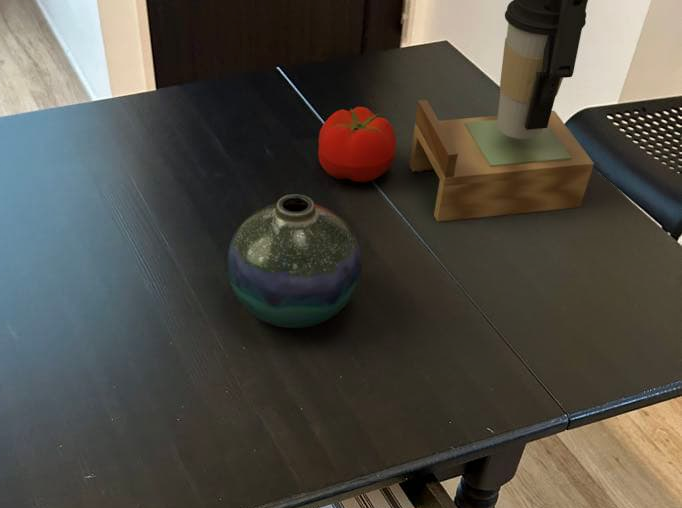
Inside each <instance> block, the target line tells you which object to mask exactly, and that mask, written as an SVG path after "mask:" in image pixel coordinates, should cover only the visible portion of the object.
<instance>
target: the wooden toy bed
mask: <svg viewBox="0 0 682 508" xmlns="http://www.w3.org/2000/svg"><path fill="white" fill-rule="evenodd" d="M497 119H498V115H489V116H477V117H476V116H475V117H467V118H455V119H443V120H439V119H438V117H437V115H436V113H435V112H434V110H433V107H431V105H430V103H429V101H428V100H427V99H419V100H418V101H417V107H416V113H415V122H414V129H413V135H412V136H413V137H412V142H411V143H412V145H411V152H410V158H409V165H408V167H409V168H410V170H411V172H412V173H415V171H417V172H425V171H424V170H428V171H432V170H431V169H434V170H433V171H435V173H436V175H437V178H438V179H439V182H438V188H437V195H436V201H435V206H434V212H433V216H434V218H435V220H436V222H437V223H439V222H440V223H441V222H450V221H457V220H458V221H459V220H468V219H478V218H479V219H480V218H489V217H498V216H508V215H517V214H527V213H529V214H530V213H537V212H547V211H557V210H567V209H577V208H581V205H582V202H583V199H584V196H585V193H586V190H587V186H588V183H589V180H590V177H591V175H592V171H593V168H594V165H595V163H594V161H593V160H592V159H591V158H590V156H589V155H588V153H587V152H586V151H585V150H584V148H583V147H582V146H581V144H580V142H578V140H577V139H576V137H575V136H574V135H573V133H572V132H571V131H570V129H569V128H568V127H567V126H566V124H565V122H563V120H562V119H561V117H560V116H559V115H558V113H557V112H556V111H555V110H552V111H551V115H550V119H549V123H548V126H547V128H543V131H542V132H541V134H539V135H538V136H536V137H533V138H528V139H516V138H512V137H509V136H506V135H505V134H503V133H502V132H501V131H500V130H499V129H498V127H497ZM422 170H423V171H422Z"/></svg>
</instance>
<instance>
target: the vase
mask: <svg viewBox="0 0 682 508" xmlns="http://www.w3.org/2000/svg"><path fill="white" fill-rule="evenodd" d="M360 245H361V244H360V243H359V239H358V237H357V235H356V233H355V231H354V229H353V228H352V227H351V226H350V225H349V224H348V222H347V221H346V220H345V219H344V218H342V217H341V216H340V215H339V214H337V213H336V212H334V211H332V210H331V209H329V208H326V207H325V206H323V205H319V204H317V203H315V202H314V201H313V200H312V198H310V197H308V196H306V195H304V194H299V193H293V194H286V195H284V196H281V197H280V199H278V201H277V202H275V203H271V204H269V205H267V206H264V207H262V208H260V209H258V210H255V212H253V213H251V214H250V215H249V216H248V217H246V218H245V219H244V220H243V221H242V222H241V223H240V224H239V225H238V227H237V228H236V230H235V231H234V233H233V234H232V236H231V239H230V242H229V245H228V248H227V254H226V255H227V256H226V269H227V276H228V280H229V283H230V285H231V289H232V290H233V294H234V295H235V296H236V297H237V299H238V301H239V303H240V304H241V305H242V306H243V307H244V308H245V310H247V311H248V312H249V314H251V315H252V316H254V317H255V318H256V319H258V320H260V321H262V322H263V323H266V324H268V325H271V326H274V327H275V326H276V327H279V328H286V329H301V328H302V329H303V328H309V327H313V326H318V325H320V324H322V323H324V322H326V321H328V320H331V318H333V317H335V316H337V314H339V313H340V312H341V310H343V309H344V308H345V307H346V305H347V304H348V303H349V301H350V300H351V299H352V298H353V296H354V293H355V292H356V289H357V287H358V285H359V282H360V278H361V272H362V266H363V259H362V258H363V256H362V249H361V246H360Z"/></svg>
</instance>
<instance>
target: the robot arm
mask: <svg viewBox="0 0 682 508" xmlns="http://www.w3.org/2000/svg"><path fill="white" fill-rule="evenodd" d="M588 2H589V0H556V1H555V0H544V8H545V9H548V10H549V11H550V12H551V13H556V12H560V16H559V21H558V24H556V23H555V22H553V21H552V20H551V22H550V26H552V25H558V27H557V32H556V36H549V35H548V38H547V41H546V45H545V48H544V56H543V68H542V72H536V76H537V78H536V82H535V86H534V90H533V94H532V98H531V102H530V107H529V111H528V115H527V119H526V123H525V128H526V130H531V129H542V128H547V126H548V123H549V119H550V115H551V111H553V108H554V103H555V100H556V97H557V95H556V93H557V89H558V85H559V81H560V79H561V78H563V79H564V78H565V79H566V78H572V77H573V75H574V73H575V67H576V61H577V56H578V51H579V45H580V41H581V35H582V31H583V28H584V27H583V21H584V16H585V11H586V12H587V5H588ZM582 27H583V28H582ZM555 96H556V97H555Z"/></svg>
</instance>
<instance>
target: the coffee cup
mask: <svg viewBox="0 0 682 508" xmlns="http://www.w3.org/2000/svg"><path fill="white" fill-rule="evenodd" d="M555 1H556V0H555ZM559 16H560V12H556V13H551V12H550V11H549V10H548V9H545V8H544V0H511V1H510V2H509V3H508V5H507V6H506V10H505V12H504V19H505V20H506V22H507V31H506V37H505V39H504V45H503V55H502V62H501V63H502V64H501V71H500V72H501V73H500V81H499V89H500V91H499V92H500V93H499V102H498V110H497V111H498V112H497V116H498V119H497V127H498V129H499V130H500V131H501V132H502V133H503V134H505V135H506V136H509V137H512V138H516V139H528V138H533V137H536V136H538V135H539V134H541V132H542V131H543V128H542V129H531V130H526V128H525V123H526V119H527V115H528V111H529V107H530V102H531V98H532V94H533V90H534V86H535V82H536V78H537V76H536V72H542V68H543V56H544V48H545V45H546V41H547V38H548V35H549V36H556V32H557V27H558V25H552V26H550V22H551V20H552V21H553V22H555V23H556V24H558V21H559ZM586 19H587V10H586V11H585V16H584V21H583V27H582V29H583V28H584V27H585V25H586V22H587V21H586ZM563 79H564V78H561V79H560V81H559V85H558V89H557V93H556V96H555V98H556V97H557V96H558V93H559V90H560V88H561V85H562V82H563Z"/></svg>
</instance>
